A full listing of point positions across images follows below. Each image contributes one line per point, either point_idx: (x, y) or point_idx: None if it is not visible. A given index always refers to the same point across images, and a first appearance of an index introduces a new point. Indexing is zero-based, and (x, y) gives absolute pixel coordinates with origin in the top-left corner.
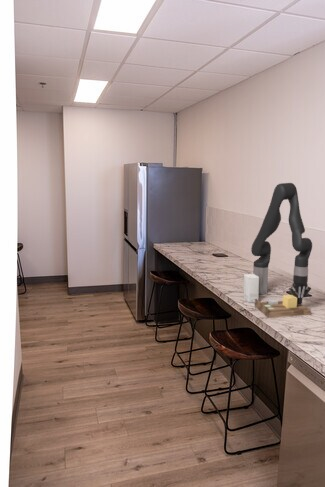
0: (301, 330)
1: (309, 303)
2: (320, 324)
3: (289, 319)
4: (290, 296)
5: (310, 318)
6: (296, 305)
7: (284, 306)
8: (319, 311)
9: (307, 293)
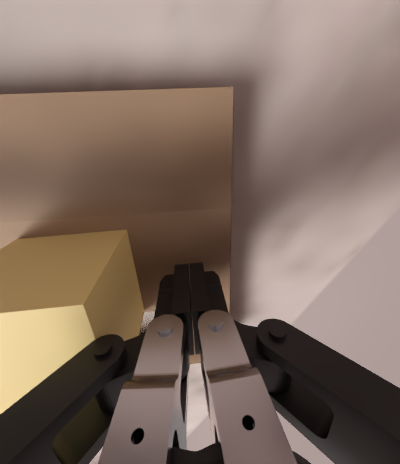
0: None
1: (387, 98)
2: (202, 420)
3: None
4: (30, 370)
5: (191, 372)
6: (138, 326)
7: None
8: (318, 287)
9: (331, 415)
